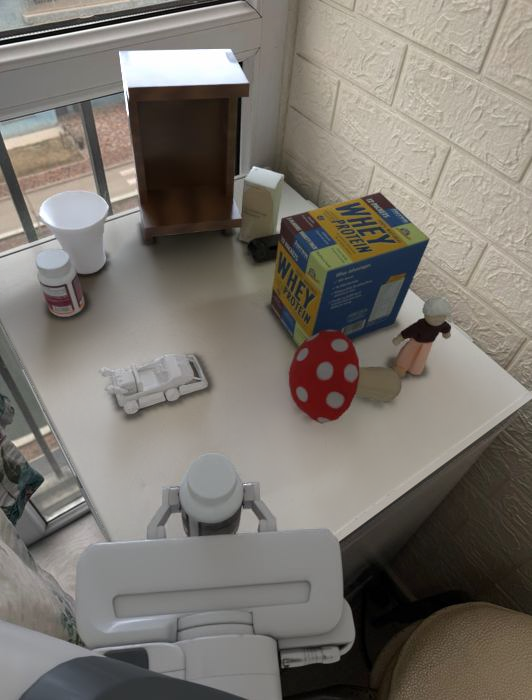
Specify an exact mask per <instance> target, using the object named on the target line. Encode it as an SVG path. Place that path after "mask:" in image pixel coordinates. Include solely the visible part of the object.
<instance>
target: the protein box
mask: <svg viewBox="0 0 532 700" xmlns="http://www.w3.org/2000/svg"><path fill="white" fill-rule="evenodd" d="M278 234H279V242H278V250H277V258H276V259H275V267H274V274H273V281H272V289H271V299H270V305H269V307H270V308H271V310H272V311H273V313H274V314H275V315H276V316H277V318H278V319H279V321H280V322H281V324H282V325H283V326H284V328H285V329H286V331H287V332H288V334H289V335H290V337H291V338H292V339H293V341H294V342H295V344H296V345H297V347H298V348H299V347H300V346H301V344H302V343H303V342H304V341H305V340H306V339H308V338H310V337H312V336H313V335H315V334H317V333H319V332H321V331H323V330H329V329H330V330H338V331H341V332H342V333H344V334H345V335H346V336H347V337H348V338H349V339H350V340H351V341H352V340H354V339H357V338H360V337H362V336H365V335H368V334H370V333H373V332H376V331H379V330H381V329H384V328H387V327H389V326H391V325H394V324H395V323H396V320H397V318H398V315H399V314H400V311H401V309H402V306H403V304H404V302H405V299H406V297H407V295H408V292H409V290H410V288H411V285H412V282H413V281H414V278H415V276H416V274H417V271H418V268H419V266H420V264H421V262H422V258H423V256H424V255H425V253H426V249H427V247H428V245H429V243H430V240H431V238H429V237H428V236H427V235H426V234H425V233H424V232H423V231H422V230H421V229H420V228H418V226H416V224H414V223H413V222H412V221H411V220H410V219H409V218H408V217H407V216H406V215H404V214H403V212H401V211H400V210H399V209H398V208H397V207H396V206H395V205H394V204H393V203H392V202H391V201H390V200H389V199H388V198H387V197H386V196H385V195H383V194H382V193H381V192H376V193H371V194H368V195H365V196H361V197H357V198H352V199H350V200H346V201H345V200H344V201H342V202H338V203H334V204H330V205H328V206H323V207H319V208H315V209H311V210H308V211H303V212H300V213H296V214H293V215H289V216H285V217H281V219H280V228H279V233H278Z"/></svg>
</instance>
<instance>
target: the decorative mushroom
mask: <svg viewBox="0 0 532 700" xmlns="http://www.w3.org/2000/svg"><path fill="white" fill-rule="evenodd" d="M402 384H403V383H402V379H401V377H400V376H399V375H398V374H397V373H396V372H395V371H394V370H393V369H391V367H384V366H360V360H359V356H358V353H357V351H356V348H355V345H354V342H353V341H352V340H350V339H349V338H348V337H347V336H346V335H345V334H344V333H342V332H341V331H338V330H330V329H329V330H323V331H321V332H319V333H317V334H315V335H313V336H312V337H310V338H308V339H306V340H305V341H304V342H303V343H302V344H301V346H300V347H299V346H298V348H297V349H296V351H295V352H294V354H293V356H292V359H291V362H290V365H289V370H288V387H289V392H290V395H291V398H292V399H293V402H294V403H295V405H296V406H297V407H298V409H299V410H300V412H302V413H303V415H305V417H307V418H309V419H310V420H312V421H315V422H316V423H319V424H322V425H323V424H326V423H330V422H334V421H338V420H339V419H340V418H341V417H342V416H343V415H344V414H345V413H346V412H347V411H348V409H350V407H351V405H352V403H353V401H354V398H355V396H359V397H363V398H366V399H369V400H371V401H374V402H378V403H389V402H391V401H393V400H395V399H396V398H398V397H399V395H400V394H401V391H402V387H403V385H402Z"/></svg>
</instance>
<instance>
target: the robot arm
mask: <svg viewBox="0 0 532 700" xmlns="http://www.w3.org/2000/svg"><path fill="white" fill-rule="evenodd" d="M242 483H243V491H244V495H243V502H242V510H252V512H253V514H254V515H255V516H256V518H257V520H258V521H259V522H258V526H257V532H243V533H242V532H241V533H236V534H225V535H210V536H194V537H187V536H182V537H181V536H180V537H167V532H166V527H165V526H166V524H167V522H168V520H169V519H170V517H171V515H172V514H180V513H181V506H180V499H179V490H180V485H177V486H175V485H174V486H163V487H162V492H161V493H162V496H161V505H160V506H159V508H158V509H157V511H156V512H155V514H154V515H153V516H152V518H151V520H150V521H149V523H148V525H147V527H146V539H137V540H136V539H134V540H120V541H104V542H103V541H101V542H92V543H90V544H89V545H87V546H86V548H85V549H84V550H83V551H82V553H80V555H79V556H78V558H77V562H76V563H77V564H76V572H75V573H76V574H75V584H74V585H75V586H74V588H75V589H74V613H75V624H76V631H77V634H78V636H79V638H80V639H81V641H82V642H83V643H84V645H85V646H86V647H87V648H85V647H83V646H81V645H77V644H74V643H73V642H70V641H67V640H64V639H62V638H61V639H60V638H57V637H55V636H51V635H49V634H46V633H43V632H40V631H38V630H37V631H36V630H33V629H30V628H27V627H25V626H22V625H18V624H15V623H12V622H9V621H7V620H3V619H0V700H283V694H282V693H283V692H282V683H281V672H280V670H281V669H289V668H297V667H303V666H307V665H311V664H319V663H320V664H325V665H326V664H333V663H337V662H339V661H340V660H341V656H343V655H346V654H347V653H348V652H349V651H350V650H351V649H352V648H353V646H354V643H355V640H356V626H355V621H354V616H353V611H352V608H351V606H350V604H349V602H348V601H347V599H346V598H345V597H344V573H343V560H342V551H341V546H340V545H341V544H340V541H339V539H338V537H337V536H336V535H335V534H334V533H333V532H332V531H331V530H330V529H329V528H326V527H321V528H306V529H289V530H278V525H277V518H276V516H275V515H274V514H273V513H272V511H271V510H270V509H269V507H268V506H267V505H266V503H265V502H264V501H263V500H262V499H261V498H262V497H261V488H260V483H259V481H252V482H242ZM340 645H343V647H341V648H340V647H339V646H340Z"/></svg>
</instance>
